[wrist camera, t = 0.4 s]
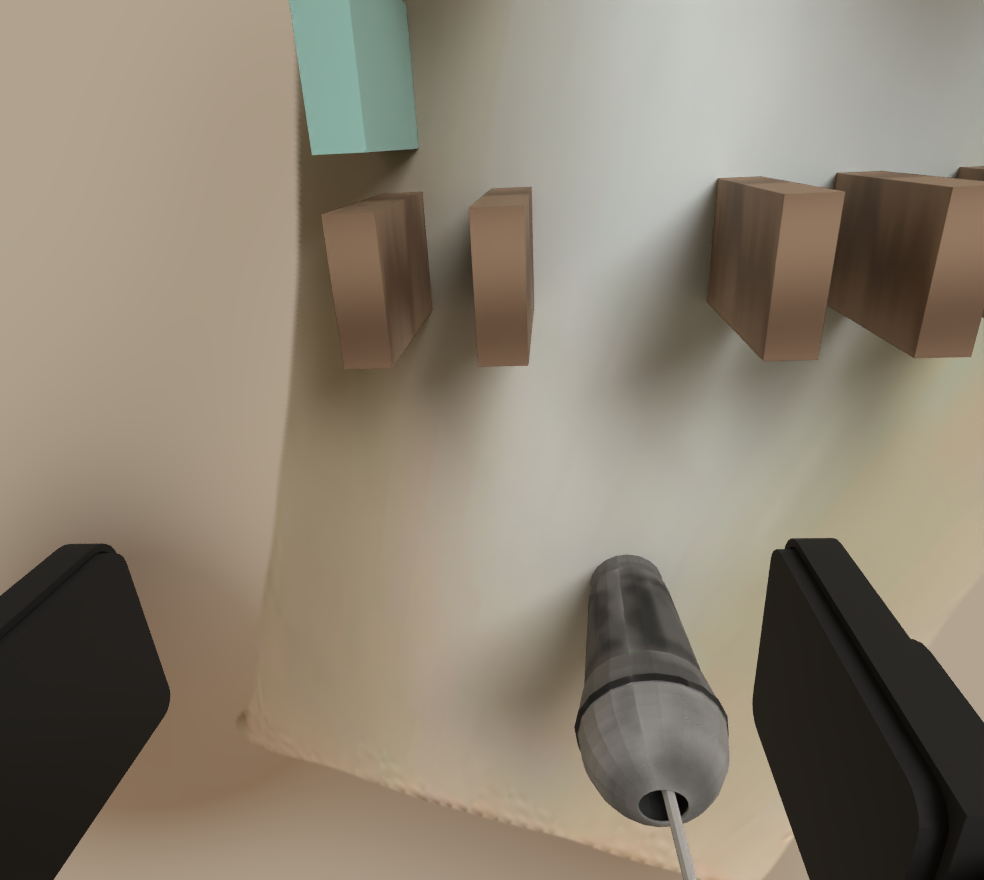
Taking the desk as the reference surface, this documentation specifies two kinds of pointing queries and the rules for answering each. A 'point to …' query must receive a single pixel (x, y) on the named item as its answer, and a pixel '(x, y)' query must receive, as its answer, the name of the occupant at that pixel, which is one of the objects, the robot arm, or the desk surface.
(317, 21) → the teal domino
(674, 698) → the beverage cup
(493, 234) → the domino
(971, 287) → the domino
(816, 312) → the domino
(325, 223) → the domino
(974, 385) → the desk surface
